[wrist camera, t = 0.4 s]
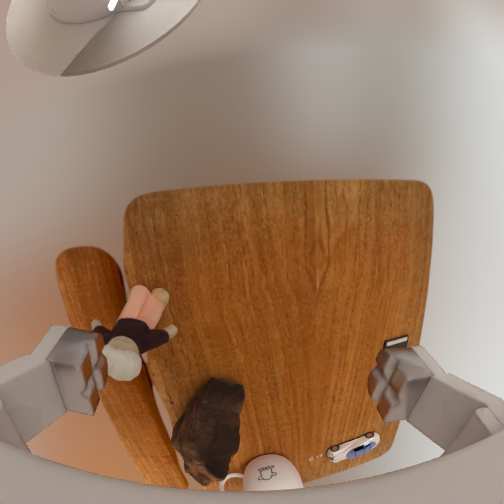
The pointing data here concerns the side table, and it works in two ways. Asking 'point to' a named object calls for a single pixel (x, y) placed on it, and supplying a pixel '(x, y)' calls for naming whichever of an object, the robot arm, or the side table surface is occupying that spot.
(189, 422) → the decorative rock
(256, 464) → the mug
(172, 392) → the side table surface
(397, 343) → the black flat block
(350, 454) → the toy car
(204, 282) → the side table surface
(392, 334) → the side table surface
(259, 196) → the side table surface
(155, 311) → the grandmother figurine
